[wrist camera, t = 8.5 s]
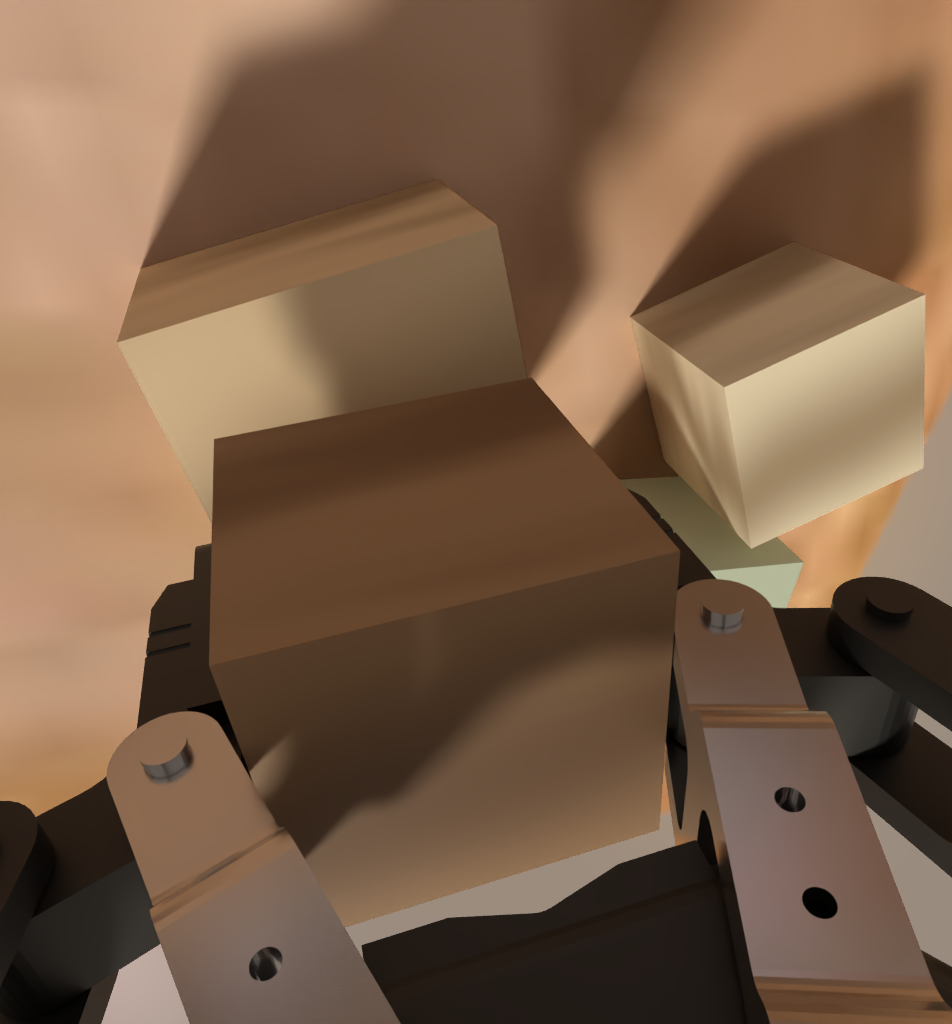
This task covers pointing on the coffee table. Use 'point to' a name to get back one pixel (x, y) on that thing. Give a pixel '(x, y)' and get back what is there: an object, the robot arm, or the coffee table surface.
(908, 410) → the beech block
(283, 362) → the oak base
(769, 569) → the sage block
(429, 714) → the walnut block
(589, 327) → the coffee table surface
